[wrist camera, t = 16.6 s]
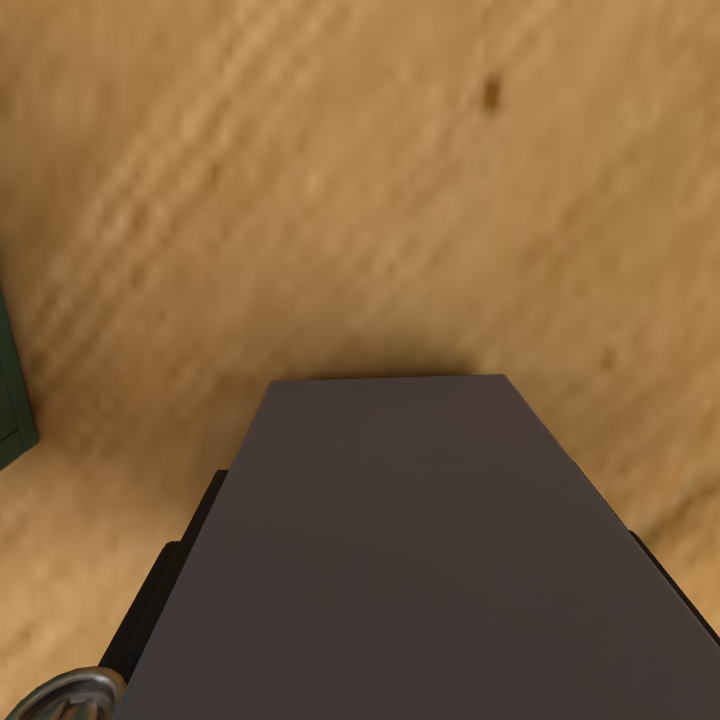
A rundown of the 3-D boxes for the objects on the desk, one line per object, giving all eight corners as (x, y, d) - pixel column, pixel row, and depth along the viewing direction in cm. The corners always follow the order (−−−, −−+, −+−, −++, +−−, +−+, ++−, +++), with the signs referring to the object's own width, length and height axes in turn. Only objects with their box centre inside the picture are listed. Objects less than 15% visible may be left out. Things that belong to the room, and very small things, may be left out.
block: (270, 379, 11) (52, 829, 3) (505, 372, 11) (860, 814, 3) (288, 570, 12) (173, 1176, 5) (493, 565, 12) (708, 1172, 5)
